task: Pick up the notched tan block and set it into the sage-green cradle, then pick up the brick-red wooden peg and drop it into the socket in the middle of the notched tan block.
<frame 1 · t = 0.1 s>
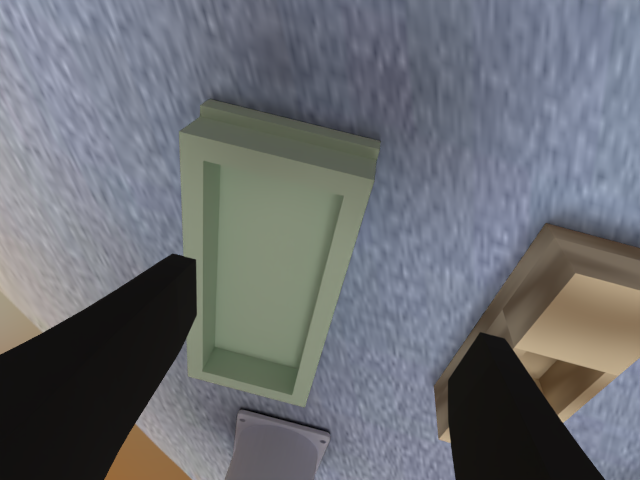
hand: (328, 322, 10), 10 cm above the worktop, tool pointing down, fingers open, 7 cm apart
notched tan block: (519, 327, 22), on the worktop
cradle: (272, 267, 22), on the worktop
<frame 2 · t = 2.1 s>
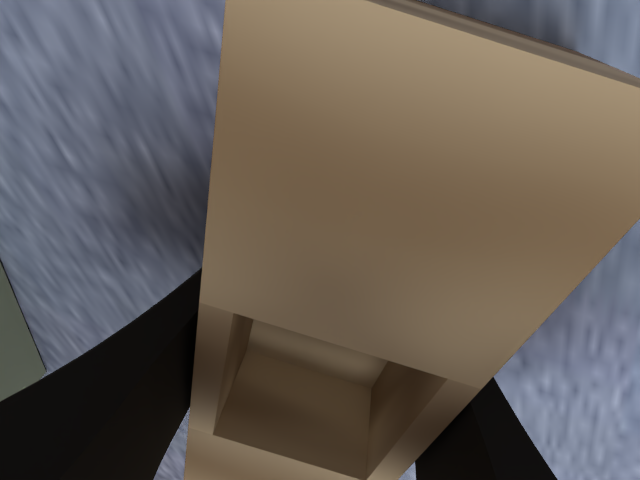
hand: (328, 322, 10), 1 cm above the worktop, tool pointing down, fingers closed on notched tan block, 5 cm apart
notched tan block: (336, 282, 11), on the worktop, touching gripper
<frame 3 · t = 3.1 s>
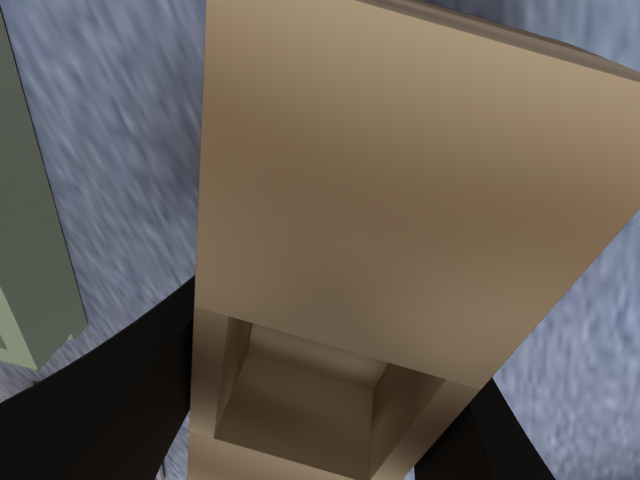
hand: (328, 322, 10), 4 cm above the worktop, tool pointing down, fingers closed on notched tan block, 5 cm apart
notched tan block: (336, 283, 11), point 3 cm above the worktop, touching gripper
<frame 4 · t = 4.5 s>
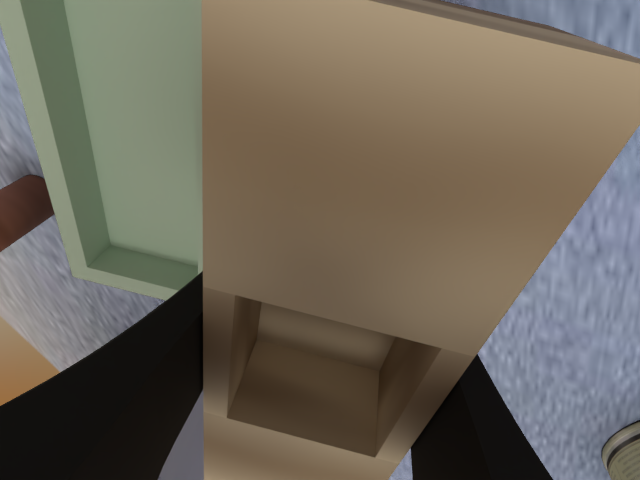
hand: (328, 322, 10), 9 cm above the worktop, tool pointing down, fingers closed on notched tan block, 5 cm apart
peg: (41, 194, 21), on the worktop
notched tan block: (339, 269, 11), point 7 cm above the worktop, touching gripper
cradle: (161, 121, 17), on the worktop
when the fingers open (5 cm above the worktop, at t = 6.9 s): notched tan block stays where it is, resting on cradle.
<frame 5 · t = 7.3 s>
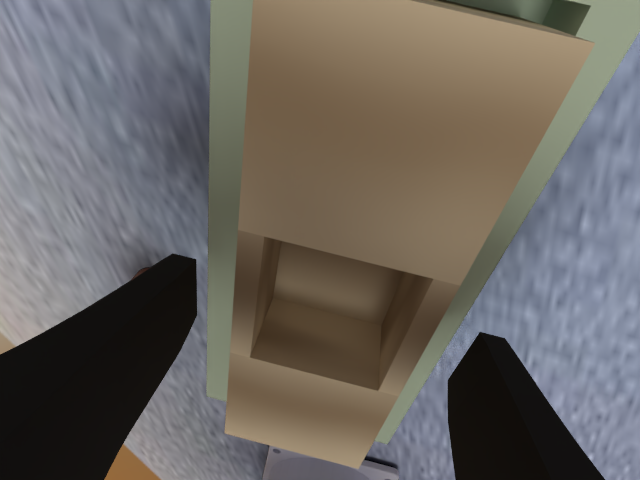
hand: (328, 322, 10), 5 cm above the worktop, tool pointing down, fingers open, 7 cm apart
notched tan block: (346, 235, 13), point 1 cm above the worktop, touching cradle
cradle: (348, 221, 14), on the worktop
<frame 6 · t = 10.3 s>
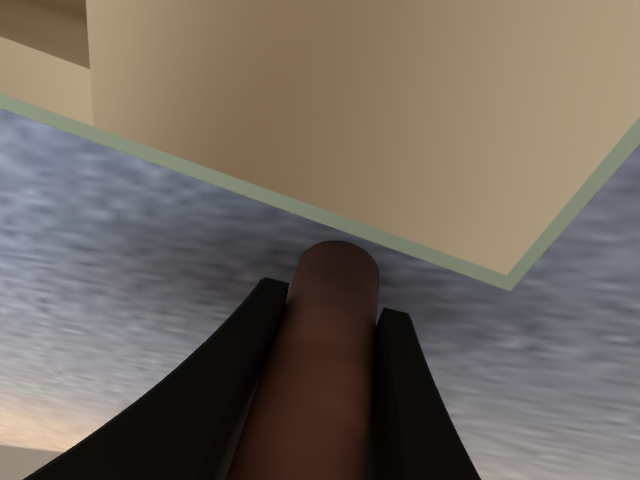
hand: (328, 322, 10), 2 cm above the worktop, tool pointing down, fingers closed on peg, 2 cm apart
peg: (338, 274, 11), on the worktop, touching gripper
when the fingers open (6 cm above the worktop, at t = 14.0 s): peg drops 1 cm, resting on notched tan block.
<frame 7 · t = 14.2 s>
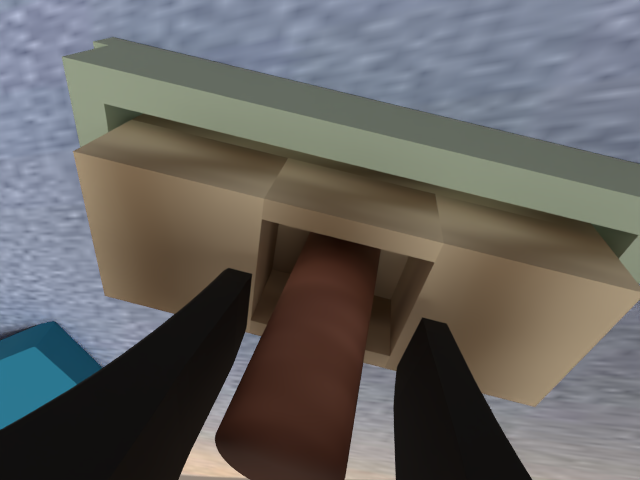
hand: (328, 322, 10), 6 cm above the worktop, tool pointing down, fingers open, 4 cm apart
lever: (10, 366, 27), on the worktop
peg: (344, 245, 12), point 3 cm above the worktop, touching notched tan block
notched tan block: (347, 219, 14), point 1 cm above the worktop, touching cradle, peg
cradle: (351, 206, 15), on the worktop
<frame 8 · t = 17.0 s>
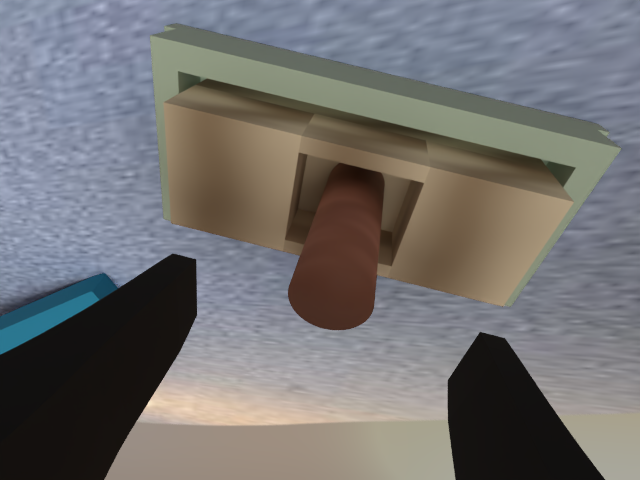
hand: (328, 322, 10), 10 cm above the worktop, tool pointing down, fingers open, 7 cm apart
lever: (59, 322, 31), on the worktop
peg: (356, 185, 16), point 3 cm above the worktop, touching notched tan block
notched tan block: (357, 169, 17), point 1 cm above the worktop, touching cradle, peg
cradle: (360, 160, 18), on the worktop
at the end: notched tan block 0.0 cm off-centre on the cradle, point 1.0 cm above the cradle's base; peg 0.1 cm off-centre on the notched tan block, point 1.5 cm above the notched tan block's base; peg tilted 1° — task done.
